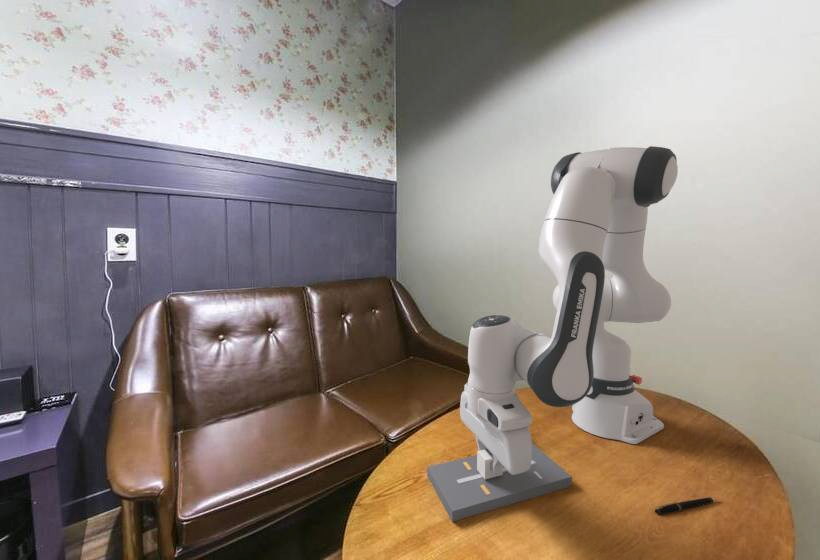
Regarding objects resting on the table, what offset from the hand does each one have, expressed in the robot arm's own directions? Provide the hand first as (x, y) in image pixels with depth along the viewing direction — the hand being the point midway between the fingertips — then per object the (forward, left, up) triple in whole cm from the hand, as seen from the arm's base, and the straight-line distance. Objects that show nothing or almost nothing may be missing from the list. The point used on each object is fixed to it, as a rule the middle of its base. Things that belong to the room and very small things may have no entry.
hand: (489, 464), depth 64 cm
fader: (0, 0, -2) cm, 2 cm away
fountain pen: (-30, +17, -4) cm, 35 cm away
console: (-2, 0, -4) cm, 4 cm away
